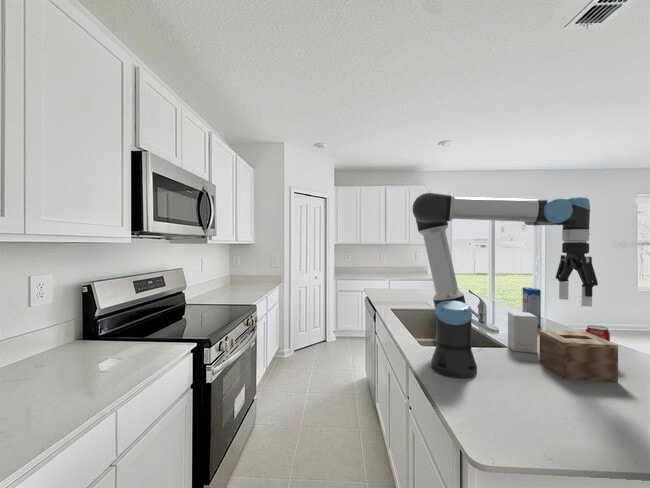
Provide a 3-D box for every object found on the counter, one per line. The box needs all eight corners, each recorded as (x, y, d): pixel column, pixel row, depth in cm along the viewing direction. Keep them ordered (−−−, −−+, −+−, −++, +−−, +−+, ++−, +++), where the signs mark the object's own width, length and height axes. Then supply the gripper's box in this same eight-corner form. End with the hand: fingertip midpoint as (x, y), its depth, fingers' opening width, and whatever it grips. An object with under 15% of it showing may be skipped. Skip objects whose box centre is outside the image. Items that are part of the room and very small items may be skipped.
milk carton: (522, 322, 185) (522, 287, 185) (535, 323, 183) (535, 287, 183) (527, 326, 175) (527, 289, 175) (540, 327, 173) (540, 290, 173)
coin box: (563, 378, 107) (563, 342, 107) (539, 361, 123) (539, 329, 123) (618, 382, 104) (618, 345, 104) (586, 364, 120) (586, 331, 120)
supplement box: (538, 353, 132) (538, 316, 132) (513, 351, 134) (513, 315, 134) (530, 346, 141) (530, 312, 141) (507, 345, 143) (507, 311, 143)
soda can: (615, 365, 119) (615, 330, 119) (592, 364, 120) (592, 329, 120) (602, 358, 126) (602, 325, 126) (581, 357, 127) (581, 324, 127)
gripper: (612, 242, 101) (611, 310, 101) (567, 242, 125) (566, 297, 125) (585, 241, 102) (584, 309, 102) (545, 242, 127) (544, 296, 127)
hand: (574, 302), depth 114 cm, fingers open, 13 cm apart
